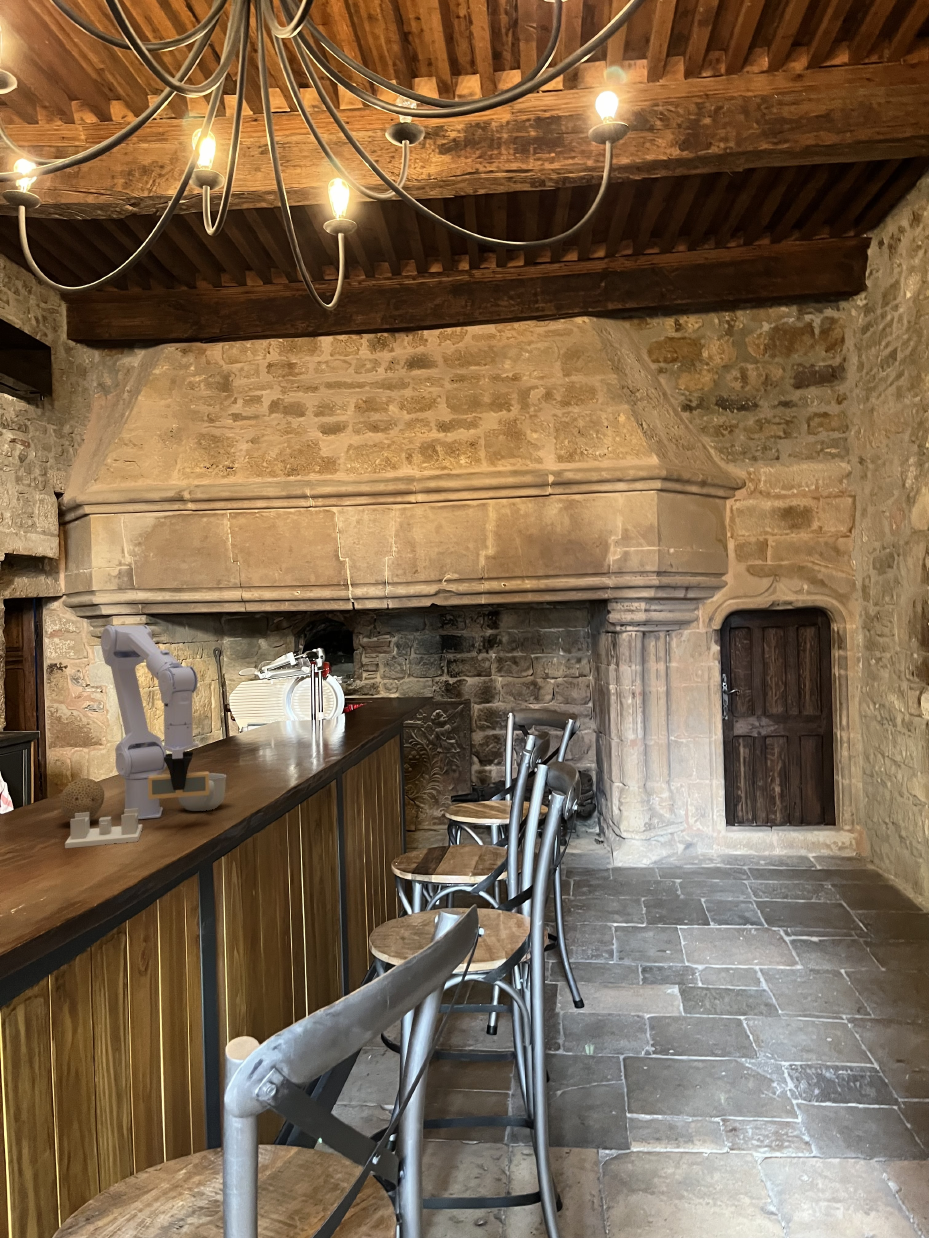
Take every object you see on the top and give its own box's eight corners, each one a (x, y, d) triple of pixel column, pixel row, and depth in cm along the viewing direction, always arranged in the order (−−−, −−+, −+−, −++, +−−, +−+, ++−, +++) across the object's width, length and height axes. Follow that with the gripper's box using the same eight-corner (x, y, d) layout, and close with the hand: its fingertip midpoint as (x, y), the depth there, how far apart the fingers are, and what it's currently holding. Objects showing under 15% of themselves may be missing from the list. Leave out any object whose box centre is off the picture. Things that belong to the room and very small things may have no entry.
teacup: (177, 806, 190) (177, 773, 190) (225, 802, 194) (224, 769, 194) (178, 818, 177) (178, 782, 177) (229, 814, 181) (229, 778, 181)
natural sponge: (101, 826, 171) (101, 779, 171) (55, 830, 168) (55, 783, 169) (107, 817, 180) (106, 773, 180) (63, 821, 177) (62, 776, 177)
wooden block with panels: (149, 796, 169) (149, 775, 170) (209, 791, 173) (208, 771, 173) (148, 799, 166) (148, 778, 166) (209, 794, 170) (208, 773, 170)
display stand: (74, 835, 164) (74, 811, 164) (142, 829, 168) (142, 805, 168) (65, 848, 154) (64, 822, 154) (137, 841, 158) (137, 816, 158)
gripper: (197, 726, 164) (198, 792, 164) (198, 719, 178) (199, 780, 178) (161, 728, 162) (161, 795, 162) (165, 721, 176) (165, 783, 176)
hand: (179, 788), depth 170 cm, fingers closed on wooden block with panels, 3 cm apart
